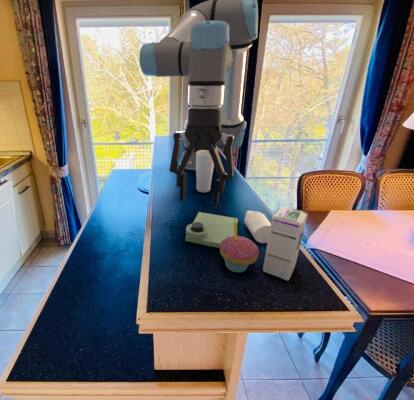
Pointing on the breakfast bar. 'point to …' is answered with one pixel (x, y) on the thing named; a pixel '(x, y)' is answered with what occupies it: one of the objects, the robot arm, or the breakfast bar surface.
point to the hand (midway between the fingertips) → (199, 200)
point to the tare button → (197, 227)
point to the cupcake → (238, 251)
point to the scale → (211, 229)
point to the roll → (258, 225)
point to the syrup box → (284, 242)
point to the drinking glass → (203, 170)
